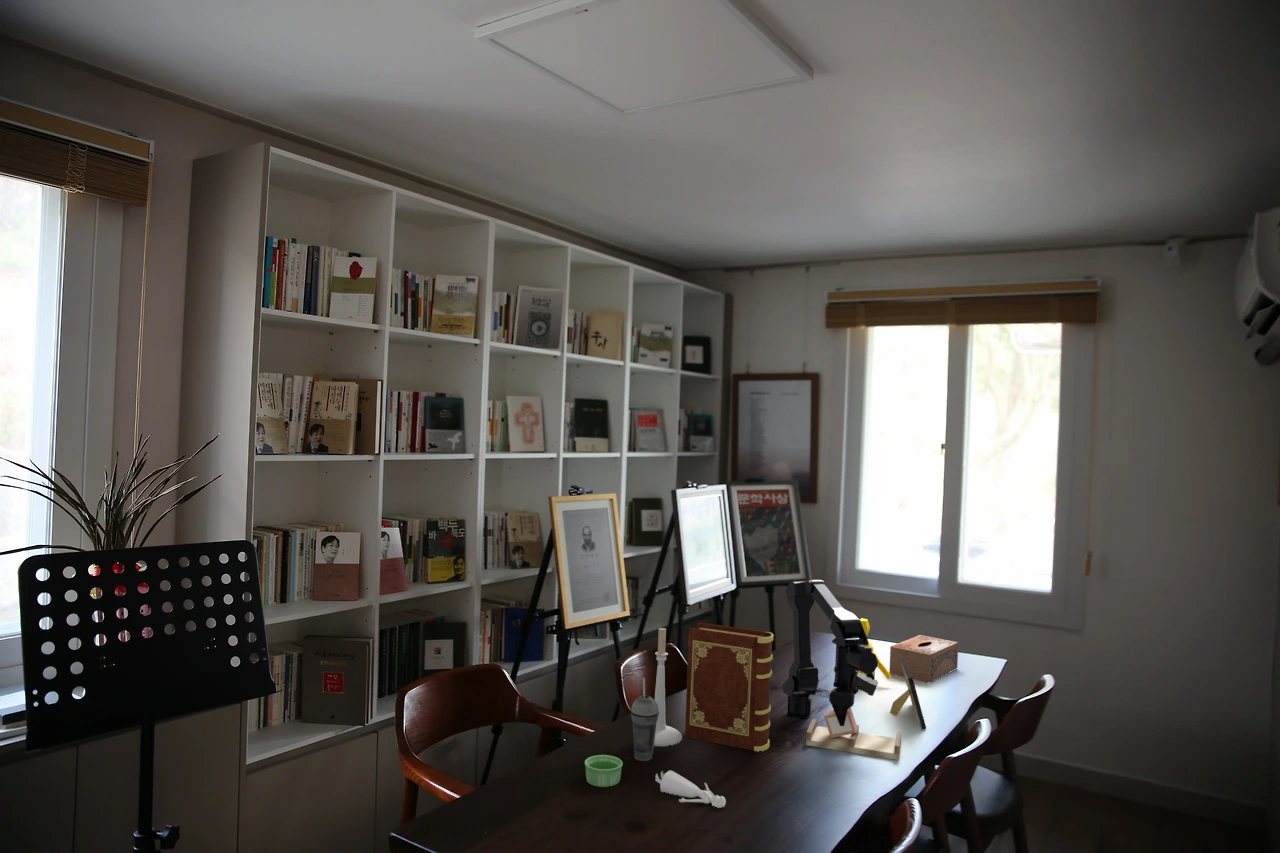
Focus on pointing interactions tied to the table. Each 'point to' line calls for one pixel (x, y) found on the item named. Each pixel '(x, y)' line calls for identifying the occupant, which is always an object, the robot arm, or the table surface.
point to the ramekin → (603, 770)
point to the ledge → (855, 742)
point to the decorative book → (729, 686)
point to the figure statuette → (880, 665)
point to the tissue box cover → (924, 657)
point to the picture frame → (913, 695)
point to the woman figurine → (687, 789)
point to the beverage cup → (644, 725)
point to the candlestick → (663, 699)
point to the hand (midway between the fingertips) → (843, 720)
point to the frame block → (834, 725)
